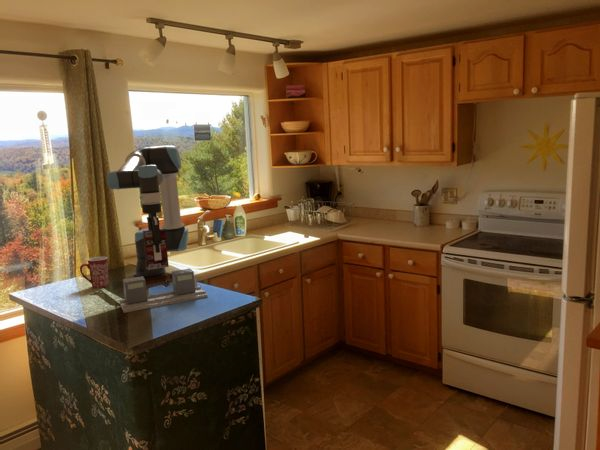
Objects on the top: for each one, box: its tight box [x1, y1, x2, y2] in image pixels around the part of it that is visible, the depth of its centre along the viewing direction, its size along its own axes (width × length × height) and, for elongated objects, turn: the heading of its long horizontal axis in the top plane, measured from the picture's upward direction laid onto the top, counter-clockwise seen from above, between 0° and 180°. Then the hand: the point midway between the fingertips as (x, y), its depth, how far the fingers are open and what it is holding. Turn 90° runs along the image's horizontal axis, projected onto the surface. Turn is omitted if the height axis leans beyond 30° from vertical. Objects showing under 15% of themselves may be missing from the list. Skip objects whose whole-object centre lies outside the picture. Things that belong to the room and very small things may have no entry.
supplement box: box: [143, 228, 169, 270], centre depth 208 cm, size 9×5×16 cm, turn 116°
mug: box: [79, 256, 109, 289], centre depth 240 cm, size 13×9×14 cm
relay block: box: [194, 274, 198, 287], centre depth 228 cm, size 5×5×6 cm
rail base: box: [119, 268, 208, 314], centre depth 211 cm, size 13×34×11 cm, turn 116°
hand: (156, 258), depth 209 cm, fingers closed on supplement box, 5 cm apart
